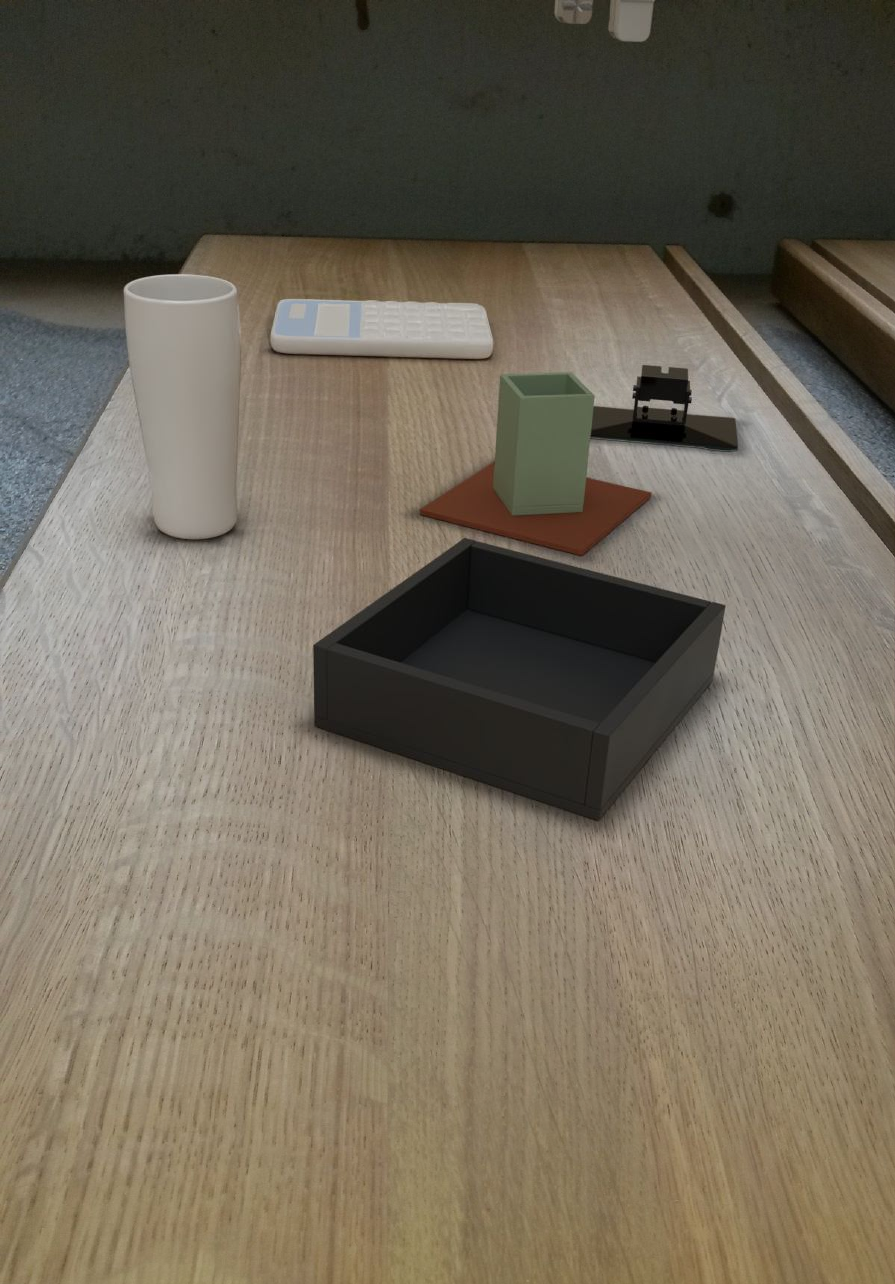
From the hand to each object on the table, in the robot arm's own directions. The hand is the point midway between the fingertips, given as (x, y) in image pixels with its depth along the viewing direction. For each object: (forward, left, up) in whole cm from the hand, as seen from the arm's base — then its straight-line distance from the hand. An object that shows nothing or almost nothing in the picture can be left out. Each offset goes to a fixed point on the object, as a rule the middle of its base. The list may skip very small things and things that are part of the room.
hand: (598, 31), depth 73 cm
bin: (-8, +21, -29) cm, 37 cm away
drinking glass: (+20, +12, -29) cm, 37 cm away
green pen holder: (+3, -4, -29) cm, 29 cm away
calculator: (+33, -33, -29) cm, 55 cm away
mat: (+3, -4, -29) cm, 30 cm away
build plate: (+2, -24, -29) cm, 38 cm away
